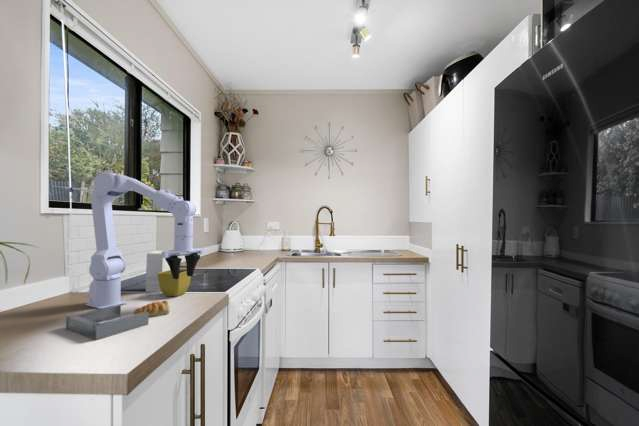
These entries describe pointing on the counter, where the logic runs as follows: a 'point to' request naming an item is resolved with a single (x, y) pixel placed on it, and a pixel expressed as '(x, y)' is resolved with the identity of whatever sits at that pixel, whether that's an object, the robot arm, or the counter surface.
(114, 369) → the counter surface
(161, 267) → the skincare box
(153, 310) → the pastry
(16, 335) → the counter surface
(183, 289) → the flower pot
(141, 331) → the counter surface
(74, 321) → the grey tray
